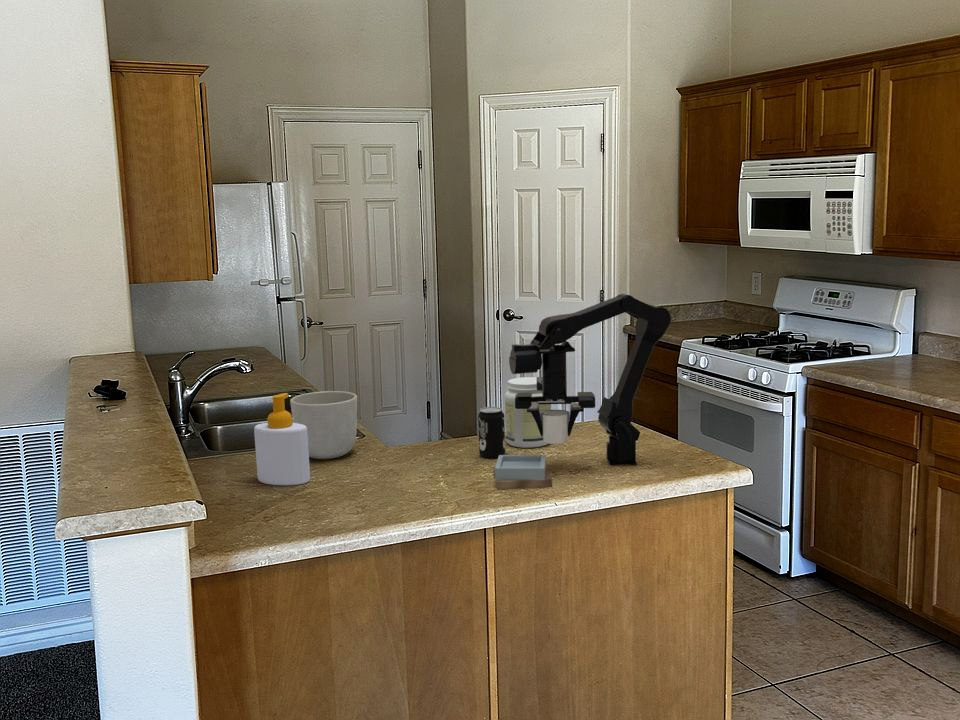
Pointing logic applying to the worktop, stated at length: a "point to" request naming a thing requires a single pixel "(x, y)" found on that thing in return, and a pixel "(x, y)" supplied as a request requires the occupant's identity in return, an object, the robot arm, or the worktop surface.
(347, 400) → the planter
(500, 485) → the slab bottom
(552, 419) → the shot glass
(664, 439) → the worktop surface
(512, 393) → the supplement tub
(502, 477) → the slab top
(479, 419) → the beverage can
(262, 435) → the soap bottle
